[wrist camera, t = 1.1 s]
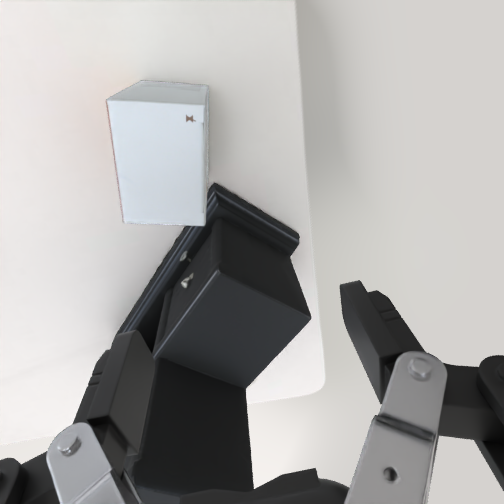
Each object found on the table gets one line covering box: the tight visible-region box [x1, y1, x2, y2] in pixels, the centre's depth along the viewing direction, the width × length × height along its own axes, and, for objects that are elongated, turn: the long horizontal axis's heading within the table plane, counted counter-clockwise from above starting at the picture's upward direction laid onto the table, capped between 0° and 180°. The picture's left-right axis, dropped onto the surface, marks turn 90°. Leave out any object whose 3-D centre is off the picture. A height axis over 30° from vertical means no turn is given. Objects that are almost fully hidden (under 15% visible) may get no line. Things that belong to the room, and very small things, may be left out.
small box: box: [106, 80, 209, 226], centre depth 25 cm, size 8×6×10 cm
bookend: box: [111, 183, 311, 504], centre depth 29 cm, size 23×11×24 cm, turn 145°
